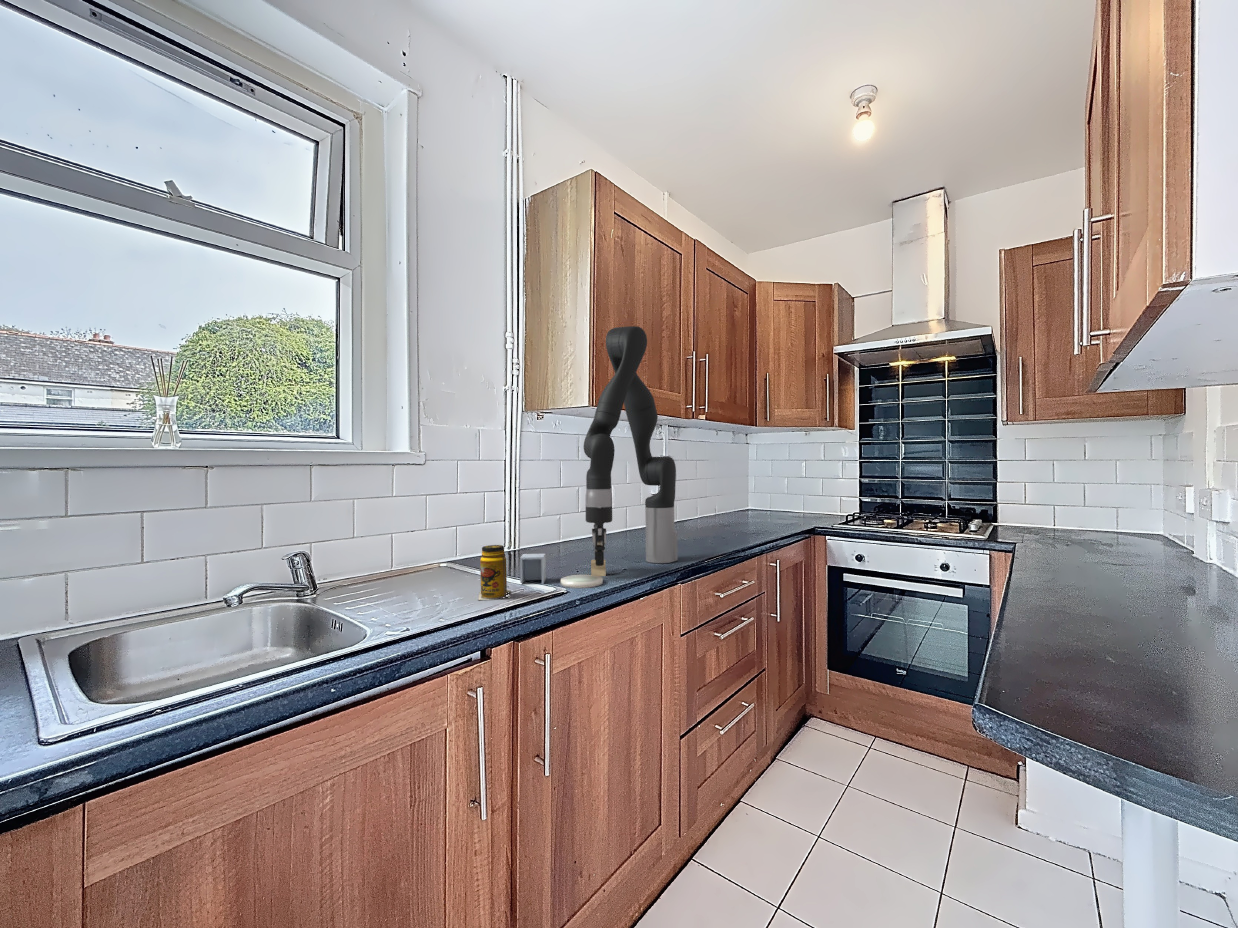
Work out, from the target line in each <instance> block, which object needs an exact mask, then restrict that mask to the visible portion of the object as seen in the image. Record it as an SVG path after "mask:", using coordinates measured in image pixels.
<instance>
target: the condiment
mask: <svg viewBox="0 0 1238 928" xmlns="http://www.w3.org/2000/svg"><path fill="white" fill-rule="evenodd" d="M505 554H506V553H505V546H504V545H501V544H491V545H490V544H489V545H485V546H482V547H481V557H480V560H479V561H480V563H479V566H480V592H479V595H478V601H485V600H486V601H489V600H491V601H493V600H498V599H497V598H503V597H506V595H508V594H510V596H508V598H507V599H511V589H507V587H508V586H507V585H508V582H507V580H508V579H507V578H508V577H507V557H506V556H505ZM508 592H509V593H508ZM506 593H507V594H506ZM503 599H504V598H503Z"/></svg>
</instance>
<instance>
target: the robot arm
mask: <svg viewBox="0 0 1238 928" xmlns="http://www.w3.org/2000/svg"><path fill="white" fill-rule="evenodd" d="M605 347H606V352H607V355H608V358H609V361H610V363H611V367H612V369H613V371H614V375H613V376H612V377H611V379H610V381H609V382H608V383H607V384H606V386H605V387H604V389H603V390H602V392H601V394H600V396H599V399H598V402H597V406H596V409H595V413H594V418H593V420H592V422H591V423H590V425H589V426H590V427H589V429H588V431H587V433H586V436H585V438H584V442H583V452H584V454H585V456H586V457H587V458H589V459H590V464H589V469H587V471H586V476H585V477H586V478H585V479H586V481H585V482H586V486H585V487H586V491H585V492H586V493H585V523H589V524H590V523H591V524H593V528H591V535H592V543H593V546H594V560H596V566H603V565H604V560H605V559H604V558H605V555H604V554H605V550H606V547H605V546H606V542H607V541H606V540H607V539H606V537H607V528H604V524H608V523H611V522H613V493H612V470H613V467H614V466H613V465H614V459H615V451H616V450H615V443H614V441H613V439H612V437H611V434H612V432H613V430H614V429H615V428H616V427H617V426H618V424H619V421H620V418H621V414H622V411H623V410H622V409H623V406H624V409H625V414H626V417H627V421H628V425H629V429H630V431H631V437H632V439H633V445H634V451H635V455H636V462H637V467H638V474H639V477H640V480H641V481H642V483H643V484H644V485H646V486H659V490H658V492H656V493H655V494H653V495H651V496H648V497H647V498H645V501H644V502H645V503H644V505H645V509H644V510H645V514H644V515H645V517H644V518H645V561H646V562H648V563H651V564H653V563H654V564H667V563H674V562H676V561H678V531H677V530H676V529H675V500H676V499H675V498H676V479H677V477H676V476H677V468H676V467H677V466H676V463H675V460H674V458H673V457H670V456H653V455H652V453H651V444H650V443H651V439H652V436H653V434H654V431H655V428H656V426H657V423H658V419H659V416H658V411H657V407H656V402H655V399H654V395H653V394H652V393H651V391H650V389H649V388H648V387H647V386H646V384H645V383H644V382H643V381H642V378H641V377H640V376H639V375H638V373H637V371H638V369H639V367H640V364H641V362H642V360H643V358H644V356H645V354H646V352H647V351H646V350H647V347H648V337H647V333H646V332H645V330H644V329H643V328H642V327H641V326H636V325H633V326H632V325H631V326H629V325H628V326H618V327H613V328H611V329H610V330H609V331H607V334H606V336H605Z"/></svg>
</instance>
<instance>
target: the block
mask: <svg viewBox="0 0 1238 928" xmlns="http://www.w3.org/2000/svg"><path fill="white" fill-rule="evenodd" d="M606 565H607V564H606V559H604V565H603V566H596V560H595V559H591V561H590V568H591V570H590V573H591V574H590V575H596V576H600V577H606V575H607V574H606V571H607V570H606Z"/></svg>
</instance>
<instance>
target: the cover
mask: <svg viewBox="0 0 1238 928" xmlns="http://www.w3.org/2000/svg"><path fill="white" fill-rule="evenodd" d="M546 563H547V562H546V553H522V555H521V556H520V558H519V565H520V566H519V567H520V568H519V569H520V570H519V572H520V573H519V574H520V576H519V578H520V583H523V582H524V583H525V582H526V581H540V580H541V584H542V583H545V581H546V579H547V578H546V577H547V576H546V574H547V573H546V571H547V570H546V567H547V566H546ZM520 583H519V584H520ZM524 583H523V584H524Z"/></svg>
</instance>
